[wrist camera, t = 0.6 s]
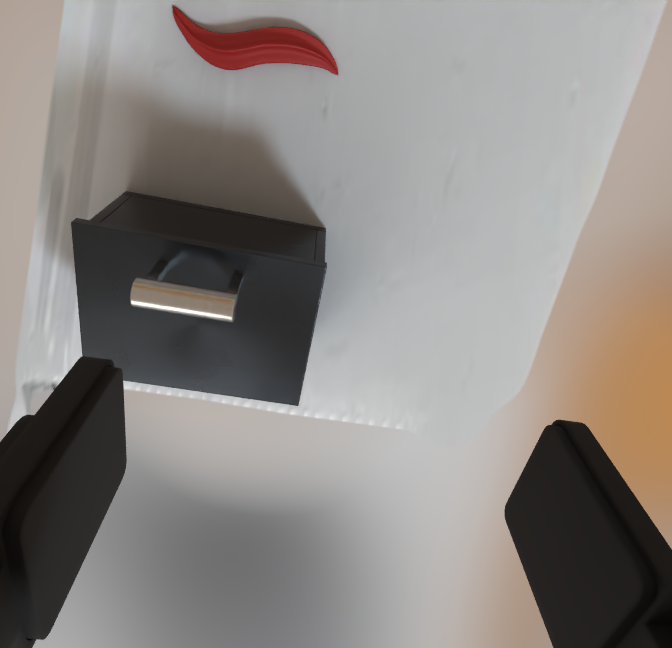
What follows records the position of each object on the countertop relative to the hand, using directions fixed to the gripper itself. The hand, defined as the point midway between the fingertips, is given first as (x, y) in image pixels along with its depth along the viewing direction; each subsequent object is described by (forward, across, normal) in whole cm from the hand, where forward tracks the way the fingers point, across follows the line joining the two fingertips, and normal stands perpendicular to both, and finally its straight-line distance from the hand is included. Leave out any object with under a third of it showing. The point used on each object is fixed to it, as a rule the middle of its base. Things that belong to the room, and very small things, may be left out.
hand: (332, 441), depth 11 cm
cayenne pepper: (+32, +6, -6) cm, 33 cm away
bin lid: (+23, +8, +11) cm, 27 cm away
